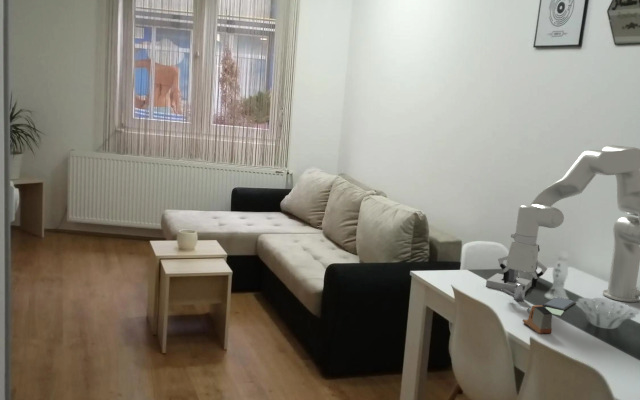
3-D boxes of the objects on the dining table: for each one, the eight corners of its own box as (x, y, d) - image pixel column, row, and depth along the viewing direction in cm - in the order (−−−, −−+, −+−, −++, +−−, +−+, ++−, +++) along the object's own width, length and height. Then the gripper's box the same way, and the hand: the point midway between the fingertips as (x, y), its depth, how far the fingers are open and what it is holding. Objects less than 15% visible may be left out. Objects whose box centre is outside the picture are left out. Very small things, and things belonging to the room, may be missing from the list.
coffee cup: (510, 276, 249) (514, 241, 247) (525, 274, 253) (529, 240, 251) (525, 281, 242) (529, 246, 239) (540, 280, 245) (544, 245, 243)
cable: (516, 297, 219) (516, 295, 219) (514, 297, 219) (514, 295, 219) (503, 290, 226) (503, 288, 226) (501, 291, 226) (501, 288, 226)
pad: (564, 311, 205) (564, 310, 205) (560, 316, 200) (560, 315, 200) (546, 307, 209) (546, 306, 209) (542, 311, 204) (542, 311, 204)
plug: (525, 300, 216) (526, 284, 215) (522, 302, 213) (524, 286, 212) (515, 298, 218) (517, 282, 217) (512, 300, 215) (514, 284, 214)
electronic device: (533, 323, 192) (536, 300, 191) (552, 334, 183) (555, 311, 181) (521, 323, 191) (524, 301, 189) (539, 335, 181) (542, 311, 180)
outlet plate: (531, 286, 235) (532, 280, 235) (522, 294, 224) (523, 287, 223) (496, 279, 243) (497, 273, 242) (485, 286, 231) (486, 280, 231)
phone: (575, 304, 217) (575, 301, 217) (562, 312, 206) (563, 309, 206) (556, 299, 221) (556, 296, 221) (542, 307, 211) (543, 304, 210)
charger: (515, 286, 234) (517, 266, 233) (512, 288, 230) (514, 267, 229) (505, 284, 236) (507, 264, 235) (502, 286, 233) (504, 265, 231)
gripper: (498, 236, 214) (492, 282, 216) (548, 245, 205) (541, 293, 207) (504, 234, 220) (498, 278, 222) (552, 242, 211) (546, 288, 213)
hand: (519, 285), depth 215 cm, fingers open, 9 cm apart
